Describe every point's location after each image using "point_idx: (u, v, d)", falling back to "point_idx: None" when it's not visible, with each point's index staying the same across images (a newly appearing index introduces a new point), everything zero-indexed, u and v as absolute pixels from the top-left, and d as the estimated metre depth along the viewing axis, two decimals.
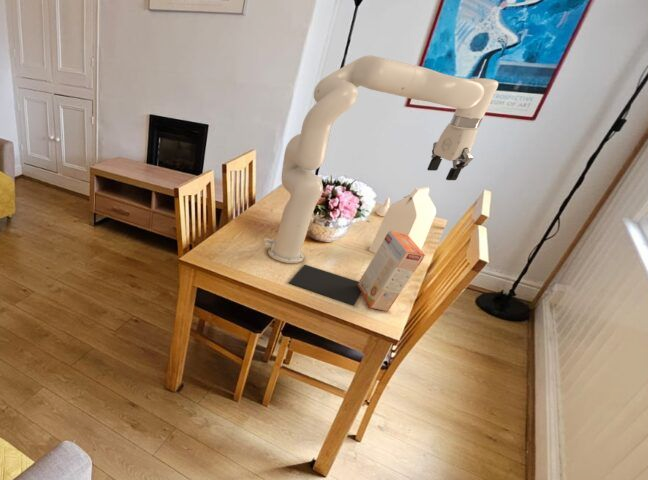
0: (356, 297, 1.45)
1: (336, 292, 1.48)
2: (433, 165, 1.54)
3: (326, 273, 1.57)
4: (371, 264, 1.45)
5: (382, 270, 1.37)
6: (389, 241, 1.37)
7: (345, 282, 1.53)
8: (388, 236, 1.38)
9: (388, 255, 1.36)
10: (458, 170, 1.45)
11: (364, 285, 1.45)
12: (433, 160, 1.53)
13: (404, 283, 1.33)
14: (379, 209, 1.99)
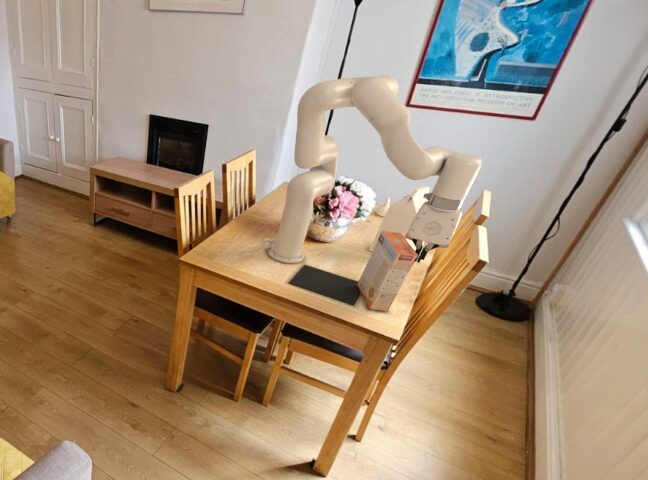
0: (356, 297, 1.45)
1: (336, 292, 1.48)
2: (418, 255, 1.31)
3: (326, 273, 1.57)
4: (367, 264, 1.45)
5: (377, 271, 1.37)
6: (382, 242, 1.37)
7: (345, 282, 1.53)
8: (381, 236, 1.38)
9: (382, 256, 1.36)
10: (427, 251, 1.29)
11: (363, 285, 1.45)
12: (420, 251, 1.29)
13: (400, 283, 1.33)
14: (379, 209, 1.99)
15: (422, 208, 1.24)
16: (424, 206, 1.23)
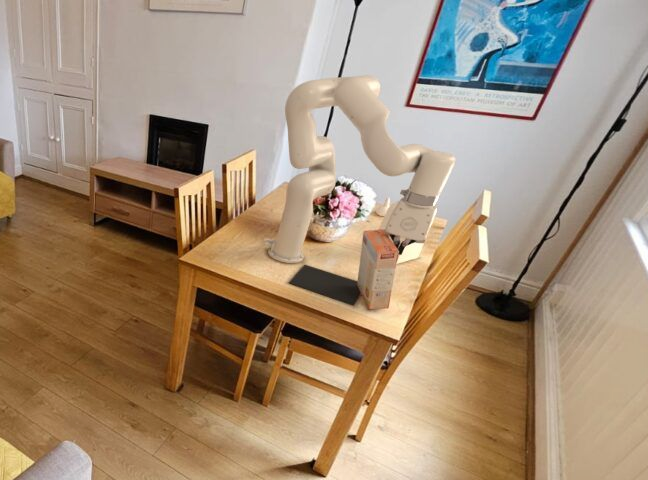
0: (356, 297, 1.45)
1: (336, 292, 1.48)
2: None
3: (326, 273, 1.57)
4: (360, 264, 1.45)
5: (367, 272, 1.38)
6: (365, 242, 1.38)
7: (345, 282, 1.53)
8: (364, 237, 1.39)
9: (367, 256, 1.36)
10: (405, 246, 1.33)
11: (361, 285, 1.46)
12: (398, 246, 1.33)
13: (391, 280, 1.33)
14: (379, 209, 1.99)
15: (399, 204, 1.27)
16: (401, 202, 1.26)
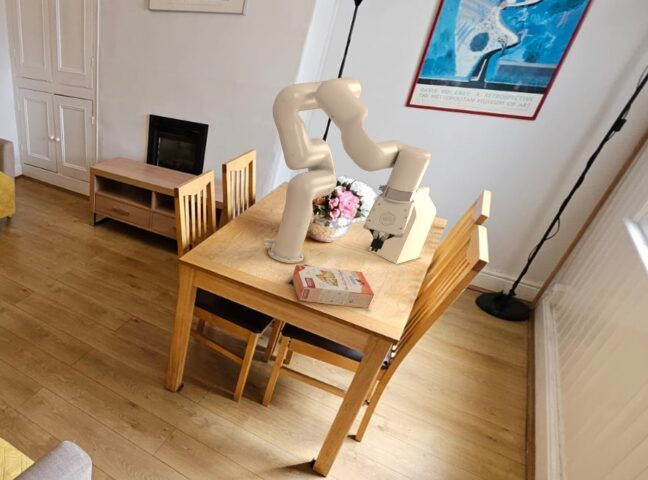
0: None
1: None
2: (376, 245, 1.37)
3: None
4: None
5: None
6: None
7: None
8: None
9: None
10: (384, 240, 1.36)
11: None
12: (377, 241, 1.36)
13: (336, 291, 1.39)
14: None
15: (377, 199, 1.30)
16: (379, 197, 1.29)
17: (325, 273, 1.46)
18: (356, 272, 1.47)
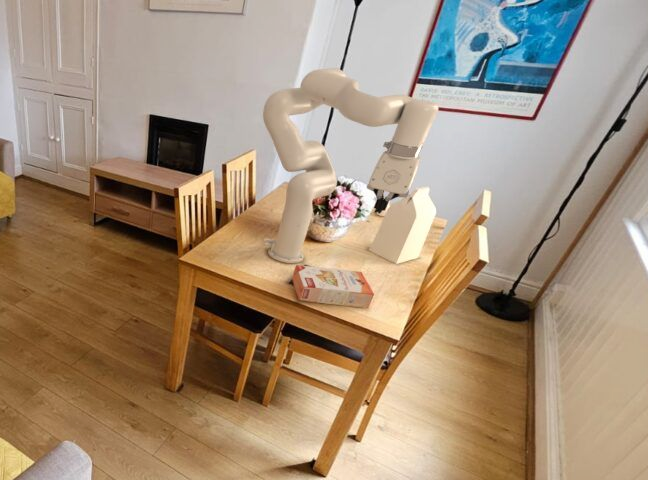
0: None
1: None
2: None
3: None
4: None
5: None
6: None
7: None
8: None
9: None
10: (388, 201, 1.31)
11: None
12: (381, 201, 1.31)
13: (336, 291, 1.39)
14: None
15: (382, 157, 1.25)
16: (384, 154, 1.25)
17: (325, 273, 1.46)
18: (356, 272, 1.47)
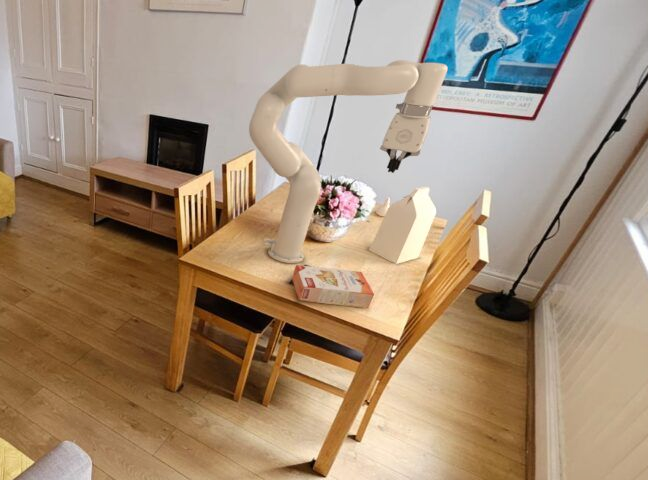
0: None
1: None
2: (392, 166, 1.41)
3: None
4: None
5: None
6: None
7: None
8: None
9: None
10: None
11: None
12: (394, 161, 1.40)
13: (336, 291, 1.39)
14: (379, 209, 1.99)
15: (395, 117, 1.34)
16: (396, 115, 1.34)
17: (325, 273, 1.46)
18: (356, 272, 1.47)
